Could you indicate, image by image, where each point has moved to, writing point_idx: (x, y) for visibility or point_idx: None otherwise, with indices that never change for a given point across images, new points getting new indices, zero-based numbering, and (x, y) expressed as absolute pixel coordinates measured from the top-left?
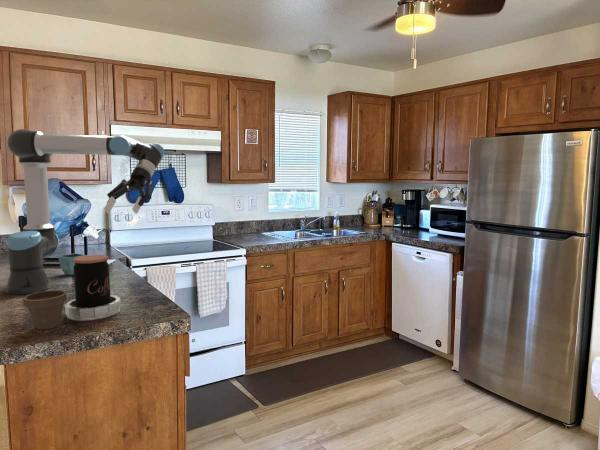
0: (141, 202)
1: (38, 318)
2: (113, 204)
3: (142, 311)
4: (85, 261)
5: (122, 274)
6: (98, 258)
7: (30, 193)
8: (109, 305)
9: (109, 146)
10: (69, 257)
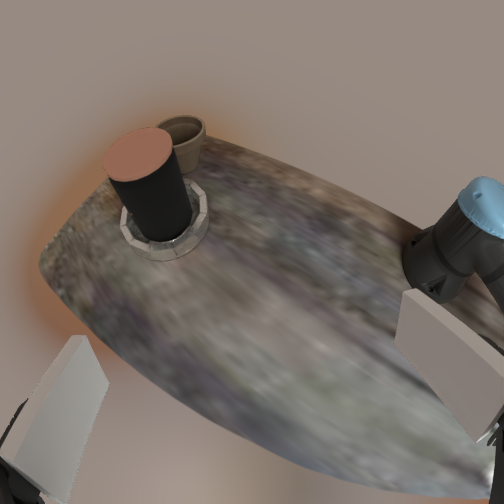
0: (18, 413)
1: (177, 141)
2: (449, 399)
3: (98, 262)
4: (127, 135)
5: (397, 470)
6: (113, 153)
7: None
8: (122, 210)
9: None
10: None
